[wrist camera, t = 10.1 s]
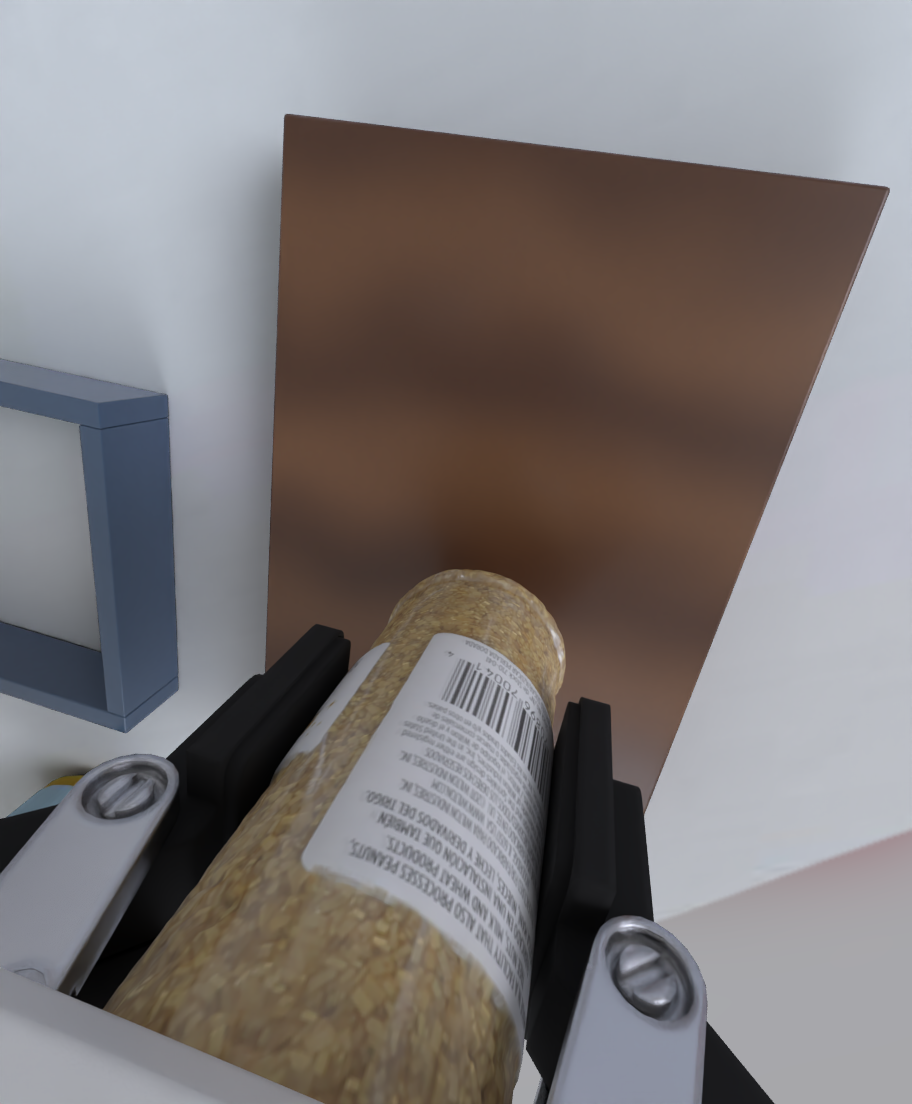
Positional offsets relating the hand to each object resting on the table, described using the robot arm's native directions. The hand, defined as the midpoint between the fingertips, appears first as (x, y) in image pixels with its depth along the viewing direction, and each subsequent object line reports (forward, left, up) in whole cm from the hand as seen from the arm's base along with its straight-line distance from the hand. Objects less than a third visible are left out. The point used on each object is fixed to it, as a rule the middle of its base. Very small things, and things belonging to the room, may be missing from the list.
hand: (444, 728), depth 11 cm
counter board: (-1, -1, -8) cm, 9 cm away
